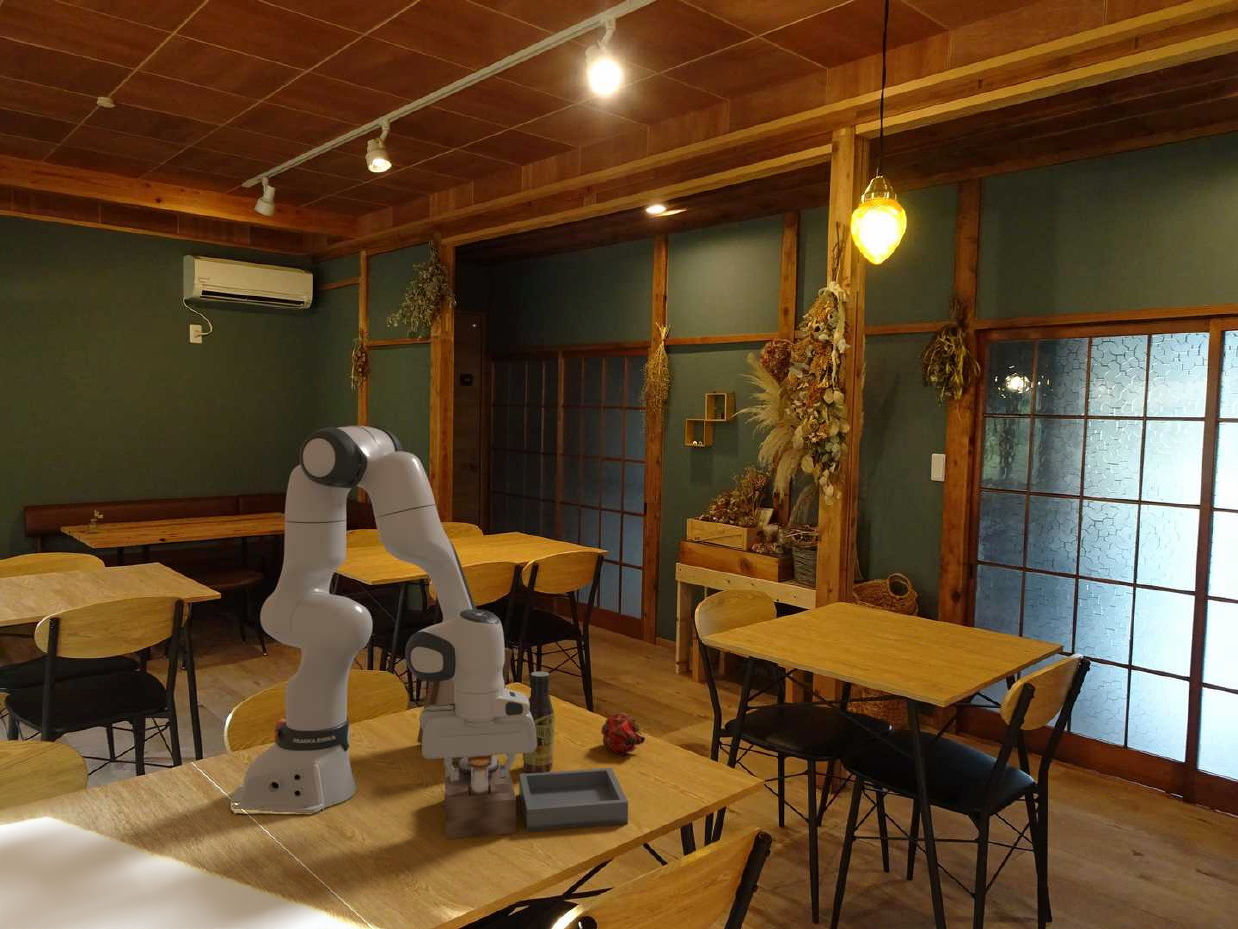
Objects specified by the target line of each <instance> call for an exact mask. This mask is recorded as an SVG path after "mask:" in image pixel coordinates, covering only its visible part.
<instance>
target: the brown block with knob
mask: <svg viewBox="0 0 1238 929" xmlns="http://www.w3.org/2000/svg"><path fill="white" fill-rule="evenodd" d="M502 765H503V764H500V762H499V759H497V757H496V756H495V755H492V764H491V765H489V766H488V794H486V795H473V796H471V767H470V766H468V765H467V757H464V758H462V759H461V760H460V761H459V762H458V763H456V766H457V767H453V768H454V769H458V768H459V781H455V782H451V781H450V772H449V771H448V769H447V768H445V769H444V788H445V789H444V793H445V794H444V801H445V802H444V803H445V804H444V805H445V807H444V808H445V809H444V810H445V839H446V840H447V839H448V840H449V839H458V838H460V839H461V838H472V837H483V836H485V837H486V836H497V835H498V836H499V835H507V834H508V835H509V834H517V833H516V832H517V830H516V829H517V824H516V823H517V820H516V819H517V815H516V814H517V811H516V810H517V800H516V793H515V788H514V783H513V778H512V773H511V768H510V769H509V778H500V766H502Z"/></svg>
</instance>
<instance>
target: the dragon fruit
mask: <svg viewBox="0 0 1238 929" xmlns="http://www.w3.org/2000/svg"><path fill="white" fill-rule="evenodd" d="M635 722H636V719H635V718H634V716H628V715H627V714H626V713H624V712H618V713H613V714H611V715H610V716H609V717H608V718H607V719H606V720H605V723H604V724H603V725H602V727H601V732H600V733H601V735H602V736H603V738H602V743H603V746H604V748H605V749H608V748H610V749H611V750H612V752H614V754H615V755H617V754H619V755H618V756H625V755H626V754H625V751H628V752H634V751H635V750H637V745H638V746H639V745H642V744H643V743H644V742H645V740H646V737H645V736H641V735H642V732H641V731H640V730H641V729H640V728H639V725H638V724H636V723H635Z"/></svg>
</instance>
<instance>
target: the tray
mask: <svg viewBox="0 0 1238 929" xmlns="http://www.w3.org/2000/svg"><path fill="white" fill-rule="evenodd" d="M518 775H519V776H518V780H519V781H518V783H519V784H518V785H519V786H518V787H519V788H518V789H519V791H518V793H519V799H520V803H521V808H522V813H523V819H524V823H525V824H524V825H525V827H526V832H527V833H529V832H530V833H534V832H545V831H547V832H548V831H554V830H555V831H557V830H571V829H580V828H582V829H583V828H592V827H607V826H617V825H628V824H629V801H628V799H627V797H626V795H625V793H624V791H623V789H622V787H621V784H620V782H619V781H618V778H617V777H616V774H615V772H614V770H613V768H612V767H605V768H604V767H601V768H588V769H574V770H573V769H572V770H560V771H548V772H542V773H530V772H527V773H519V774H518Z"/></svg>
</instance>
